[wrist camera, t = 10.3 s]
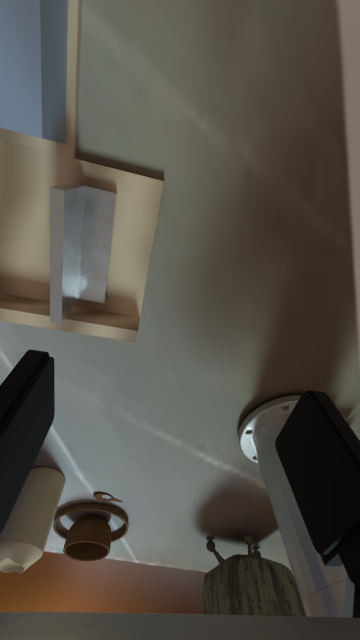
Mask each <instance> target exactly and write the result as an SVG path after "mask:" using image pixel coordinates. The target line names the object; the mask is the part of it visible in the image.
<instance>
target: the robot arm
mask: <svg viewBox="0 0 360 640" xmlns="http://www.w3.org/2000/svg"><path fill="white" fill-rule="evenodd" d="M53 419H54V358H53V357H49V354H48V352H43V351H36V350H28V351H27V352H26V353H25V355H24V356H23V357H22V358H21V360H20V361H19V362H18V364H17V365H16V366H15V367H14V369H13V370H12V371H11V373H10V374H9V375H8V376H7V378H6V379H5V380H4V381H3V383H2V384H1V385H0V534H1V532H2V531H3V529H4V527H5V525H6V522H7V520H8V518H9V516H10V514H11V511H12V509H13V507H14V505H15V503H16V501H17V498H18V496H19V494H20V492H21V490H22V488H23V485H24V483H25V481H26V479H27V477H28V475H29V472H30V470H31V468H32V466H33V464H34V461H35V459H36V457H37V455H38V453H39V451H40V448H41V446H42V444H43V442H44V440H45V438H46V435H47V433H48V431H49V429H50V427H51V425H52V422H53ZM238 439H239V443H240V447H241V449H242V452H243V453H244V454H245V455H246V457H247V458H249V459H250V460H252V461H254V462H256V463H258V464H259V467H260V470H261V473H262V476H263V480H264V483H265V486H266V489H267V492H268V495H269V499H270V502H271V505H272V508H273V511H274V515H275V518H276V521H277V524H278V527H279V531H280V534H281V537H282V540H283V543H284V546H285V550H286V553H287V556H288V559H289V562H290V566H291V569H292V572H293V575H294V578H295V582H296V585H297V588H298V591H299V594H300V597H301V601H302V604H303V607H304V611H305V614H306V617H305V616H261V615H212V614H159V613H158V614H157V613H156V614H155V613H154V614H153V613H91V612H90V613H89V612H20V613H19V612H18V613H17V612H13V613H12V612H5V613H4V612H3V613H0V640H360V441H359V439H358V438H357V436H356V435H355V434H354V432H353V431H352V429H351V428H350V426H349V425H348V424H347V422H346V421H345V419H344V418H343V417H342V415H341V414H340V412H339V411H338V410H337V408H336V407H335V405H334V404H333V403H332V401H331V400H330V398H329V397H328V396H327V394H326V393H323V392H317V391H307V392H306V393H305V394H302V395H293V396H287V397H282V398H278V399H275V400H272V401H270V402H267V403H265V404H263V405H262V406H260V407H258V408H257V409H255V410H254V411H253V412H252V413H251V414H249V415H248V417H247V418H246V419H245V420H244V421H243V423H242V425H241V427H240V430H239V436H238Z"/></svg>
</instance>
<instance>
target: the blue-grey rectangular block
mask: <svg viewBox="0 0 360 640" xmlns="http://www.w3.org/2000/svg"><path fill="white" fill-rule="evenodd" d="M67 38H68V0H0V128H4V129H8V130H11V131H15V132H19V133H23V134H27V135H30V136H34V137H38V138H42V139H46V140H51V141H55V142H60V143H64V144H65V138H66V88H67Z"/></svg>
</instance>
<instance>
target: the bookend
mask: <svg viewBox="0 0 360 640" xmlns="http://www.w3.org/2000/svg"><path fill="white" fill-rule="evenodd" d="M116 198H117V193H116V192H112V191H108V190H104V189H100V188H96V187H92V186H87V185H83V184H79V183H70V184H65V185H59V186H54V187H50V323H55V324H61V325H62V323H63V322H64V320H65V319H66V317H67V316H68V314H69V313H70V311H71V310H72V308H73V306H74V305H75V303H76V302H77V300H78V299H83V300H89V301H95V302H100V303H105V301H106V292H107V283H108V274H109V264H110V255H111V245H112V236H113V227H114V217H115V208H116Z"/></svg>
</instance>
